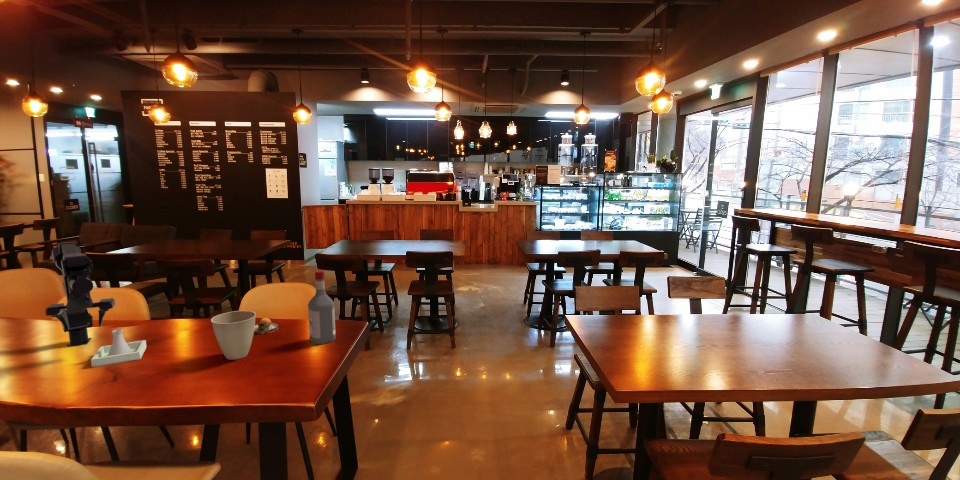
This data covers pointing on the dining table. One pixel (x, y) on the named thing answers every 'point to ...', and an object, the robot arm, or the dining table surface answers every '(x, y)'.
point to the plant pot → (234, 332)
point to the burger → (265, 326)
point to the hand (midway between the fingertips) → (84, 328)
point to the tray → (103, 358)
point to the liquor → (321, 314)
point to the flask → (119, 344)
